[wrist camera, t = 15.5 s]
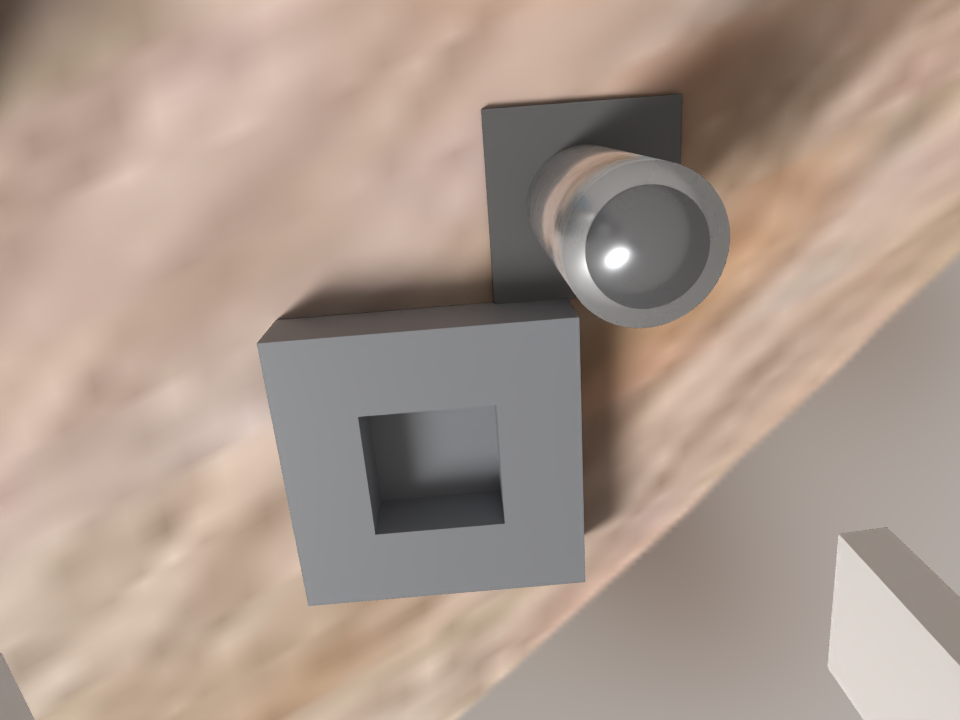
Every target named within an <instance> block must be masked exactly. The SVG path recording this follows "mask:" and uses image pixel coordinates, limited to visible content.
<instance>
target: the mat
mask: <svg viewBox="0 0 960 720" xmlns="http://www.w3.org/2000/svg"><path fill="white" fill-rule="evenodd" d="M481 115H482V129H483V144H484V159H485V174H486V189H487V204H488V219H489V233H490V248H491V263H492V278H493V293H494V304H504V303H516V302H529V301H541V300H553V299H566V298H577V296H576V295H575V294H574V292H573V291H572V289H571V288H570V287H569V285H568V284H567V282H566V281H565V279H564V278H563V276H562V275H561V273H560V272H559V271H558V269H557V268H556V266H555V265H554V263H553V262H552V260H551V259H550V257H549V256H548V255H547V253H546V252H545V250H544V249H543V247H542V246H541V244H540V243H539V242H538V240H537V239H536V237H535V235H534V234H533V232H532V230H531V227H530V224H529V221H528V217H527V196H528V192H529V188H530V185H531V183H532V180H533V178H534V176H535V175H536V173H537V171H538V170H539V169H540V167H541V166H542V165H543V164H544V163H545V162H546V161H547V160H548V159H549V158H550V157H552V156H553V155H554V154H556V153H558V152H559V151H561V150H564V149H566V148H568V147H572V146H576V145H582V144H592V145H599V146H603V147H608V148H612V149H616V150H621V151H625V152H630V153H634V154H639V155H643V156H648V157H652V158H656V159H661V160H665V161H670V162H673V163H677V164H680V155H681V121H682V94H674V95H661V96H649V97H636V98H623V99H610V100H597V101H584V102H571V103H558V104H545V105H532V106H519V107H506V108H493V109H481Z"/></svg>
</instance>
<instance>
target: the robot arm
mask: <svg viewBox="0 0 960 720" xmlns="http://www.w3.org/2000/svg"><path fill="white" fill-rule="evenodd" d="M828 668H829V670H830V672H831V673H832V674H833V676H834V677H835V679H836V680H837V682H838V683H839V685H840V686H841V688H842V689H843V691H844V692H845V693H846V695H847V696H848V698H849V699H850V701H851V702H852V704H853V705H854V707H855V708H856V709H857V711H858V712H859V714H860V715H861V717H862V718H863V720H960V597H959V596H958V595H957V594H956V593H955V592H954V591H953V590H952V589H951V588H950V587H949V586H948V585H946V583H944V581H942V580H941V579H940V578H939V577H938V576H937V575H936V574H935V573H934V572H933V571H932V570H931V569H930V568H929V567H928V566H927V565H926V564H924V562H922V560H921V559H919V558H918V557H917V556H916V555H915V554H914V553H913V552H912V551H911V550H910V549H909V548H908V547H907V546H906V545H905V544H904V543H903V542H902V541H901V540H900V539H899V538H898V537H897V536H896V535H895V534H893V533H892V532H891V531H890V530H889V529H888V528H887V527H884V528H877V529H870V530H862V531H855V532H849V533H842V534H839V536H838V548H837V560H836V572H835V584H834V596H833V608H832V620H831V632H830V644H829V657H828ZM0 720H34V718H33V716H32V714H31V712H30V709H29V707H28V705H27V703H26V701H25V699H24V697H23V695H22V693H21V691H20V689H19V687H18V685H17V683H16V681H15V679H14V677H13V675H12V673H11V671H10V669H9V667H8V665H7V663H6V661H5V659H4V657H3V655H2V653H0Z"/></svg>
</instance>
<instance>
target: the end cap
mask: <svg viewBox="0 0 960 720" xmlns="http://www.w3.org/2000/svg"><path fill="white" fill-rule="evenodd" d="M527 217H528V221H529V224H530V227H531V230H532V232H533V234H534V235H535V237H536V239H537V240H538V242H539V243H540V244H541V246H542V247H543V249H544V250H545V252H546V253H547V255H548V256H549V257H550V259H551V260H552V262H553V263H554V265H555V266H556V268H557V269H558V271H559V272H560V273H561V275H562V276H563V278H564V279H565V281H566V282H567V284H568V285H569V287H570V288H571V289H572V291H573V292H574V294H575V295H576V296H577V298H578V299H579V300H580V302H581V303H582V304H583V305H584V306H585V307H586V308H587V309H588V310H589V311H591V312H592V313H593V314H595V315H596V316H598V317H599V318H601V319H603V320H605V321H607V322H610V323H612V324H615V325H619V326H623V327H630V328H648V327H655V326H659V325H663V324H666V323H669V322H671V321H674V320H676V319H678V318H680V317H682V316H683V315H685V314H687V313H688V312H690V311H691V310H692V309H694V308H695V307H696V306H697V305H698V304H700V303H701V302H702V301H703V300H704V299H705V298H706V296H707V295H708V294H709V293H710V292H711V290H712V289H713V288H714V286H715V285H716V283H717V281H718V280H719V278H720V276H721V274H722V272H723V269H724V266H725V264H726V260H727V256H728V252H729V244H730V228H729V221H728V217H727V213H726V210H725V207H724V205H723V203H722V201H721V199H720V197H719V195H718V194H717V192H716V191H715V189H714V188H713V187H712V186H711V185H710V184H709V182H708V181H707V180H705V179H704V178H703V177H702V176H701V175H699V174H698V173H696V172H695V171H693V170H691V169H690V168H687V167H685V166H683V165H681V164H677V163H673V162H670V161H665V160H661V159H656V158H652V157H648V156H643V155H639V154H634V153H630V152H625V151H621V150H616V149H612V148H608V147H603V146H599V145H592V144H582V145H576V146H572V147H568V148H566V149H564V150H561V151H559V152H558V153H556V154H554V155H553V156H552V157H550V158H549V159H548V160H547V161H546V162H545V163H544V164H543V165H542V166H541V167H540V169H539V170H538V171H537V173H536V175H535V176H534V178H533V180H532V183H531V185H530V188H529V192H528V196H527Z"/></svg>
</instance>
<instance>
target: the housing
mask: <svg viewBox="0 0 960 720" xmlns="http://www.w3.org/2000/svg"><path fill="white" fill-rule="evenodd" d="M257 347H258V352H259V357H260V362H261V367H262V372H263V378H264V383H265V388H266V393H267V398H268V403H269V408H270V413H271V418H272V423H273V428H274V433H275V439H276V444H277V449H278V454H279V459H280V464H281V469H282V474H283V479H284V484H285V489H286V494H287V499H288V505H289V510H290V515H291V520H292V525H293V530H294V535H295V540H296V545H297V550H298V555H299V560H300V565H301V571H302V576H303V581H304V586H305V591H306V596H307V601H308V606H315V605H326V604H338V603H349V602H361V601H372V600H384V599H395V598H407V597H418V596H430V595H441V594H453V593H464V592H476V591H487V590H499V589H510V588H522V587H533V586H545V585H556V584H568V583H580V582H585V549H584V505H583V461H582V416H581V372H580V328H579V316H578V314H577V313H576V311H575V310H574V308H573V306H572V305H571V303H570V301H569V300H568V298H566V299H553V300H541V301H529V302H516V303H504V304H494V302H492V303H479V304H467V305H455V306H442V307H430V308H418V309H405V310H393V311H381V312H368V313H356V314H344V315H331V316H319V317H307V318H295V319H282V320H276V321H275V322H274V323H273V324H272V326H271V327H270V328H269V329H268V331H267V332H266V333H265V334H264V335H263V337H262V338H261V339H260V340H259V342H258V343H257Z"/></svg>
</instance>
